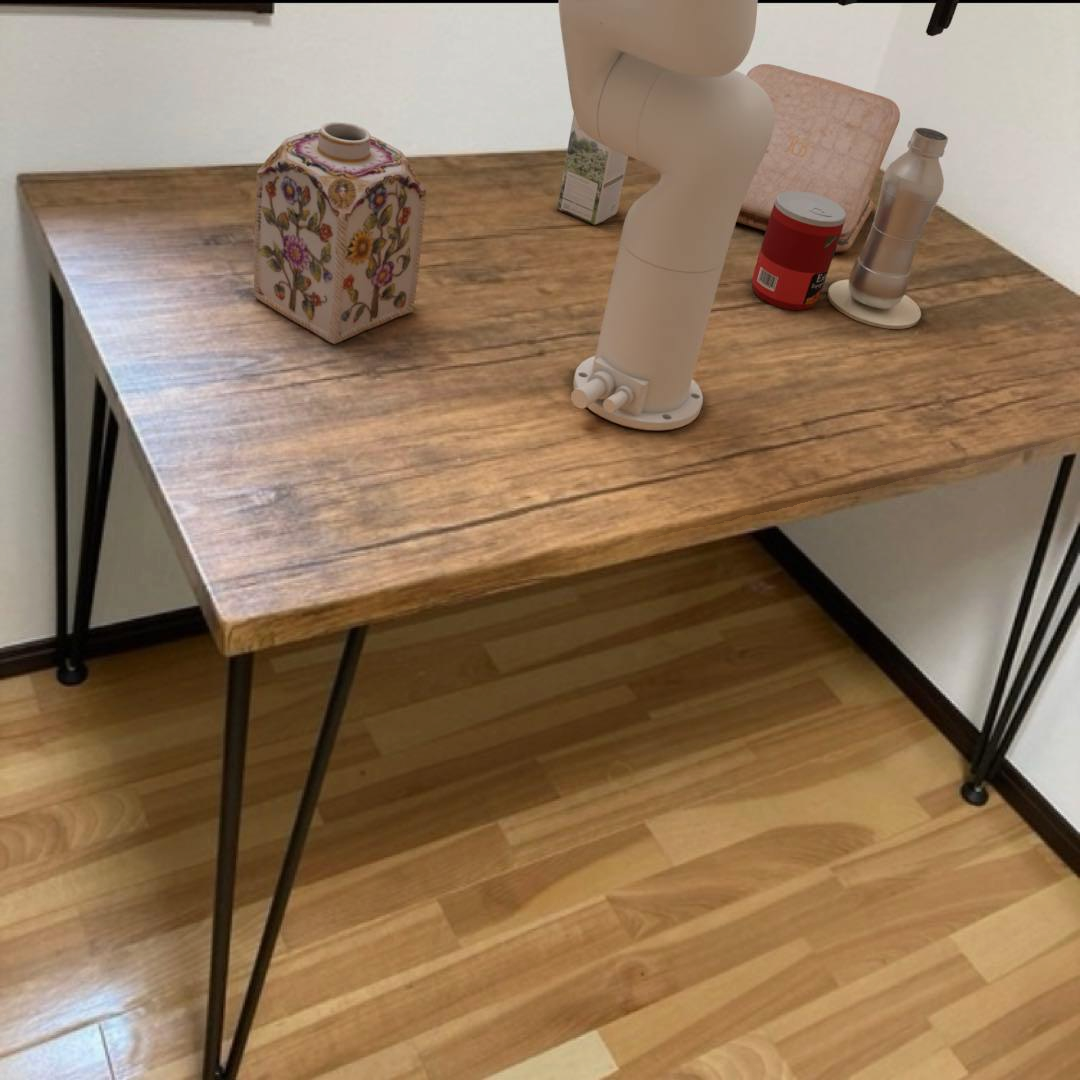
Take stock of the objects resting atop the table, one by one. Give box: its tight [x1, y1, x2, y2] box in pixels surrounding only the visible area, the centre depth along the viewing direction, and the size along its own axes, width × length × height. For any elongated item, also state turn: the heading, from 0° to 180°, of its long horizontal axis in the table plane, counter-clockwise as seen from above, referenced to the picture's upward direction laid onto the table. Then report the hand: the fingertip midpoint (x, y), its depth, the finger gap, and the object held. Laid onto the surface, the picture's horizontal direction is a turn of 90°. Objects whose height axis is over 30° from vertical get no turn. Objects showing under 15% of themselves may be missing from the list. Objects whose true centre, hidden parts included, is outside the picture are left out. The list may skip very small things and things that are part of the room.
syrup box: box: [556, 114, 629, 225], centre depth 149 cm, size 6×6×14 cm
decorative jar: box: [253, 121, 427, 345], centre depth 119 cm, size 12×12×18 cm
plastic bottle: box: [848, 127, 949, 309], centre depth 139 cm, size 6×7×20 cm
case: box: [736, 63, 901, 253], centre depth 159 cm, size 20×21×16 cm
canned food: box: [751, 191, 846, 311], centre depth 140 cm, size 8×8×11 cm
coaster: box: [826, 278, 922, 330], centre depth 145 cm, size 11×11×1 cm
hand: (889, 18), depth 125 cm, fingers open, 9 cm apart
